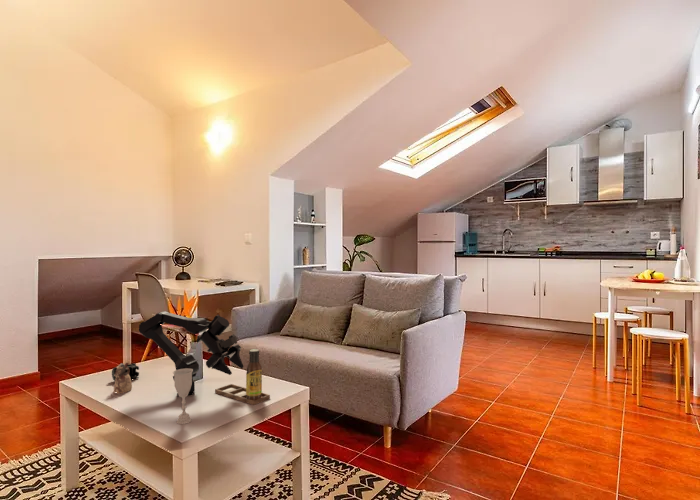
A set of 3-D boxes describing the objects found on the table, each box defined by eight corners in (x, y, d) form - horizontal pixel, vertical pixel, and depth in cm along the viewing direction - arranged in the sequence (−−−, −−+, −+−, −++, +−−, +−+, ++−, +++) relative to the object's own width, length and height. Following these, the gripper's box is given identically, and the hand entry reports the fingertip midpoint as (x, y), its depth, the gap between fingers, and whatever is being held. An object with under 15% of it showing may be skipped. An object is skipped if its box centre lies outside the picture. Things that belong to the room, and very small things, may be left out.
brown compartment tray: (215, 392, 182) (215, 389, 182) (231, 387, 189) (231, 383, 189) (253, 405, 167) (253, 401, 167) (269, 398, 174) (269, 394, 174)
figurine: (111, 390, 187) (110, 363, 186) (128, 386, 192) (127, 360, 192) (116, 394, 182) (116, 366, 182) (134, 390, 187) (133, 363, 187)
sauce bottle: (250, 402, 168) (249, 353, 168) (243, 398, 173) (242, 350, 173) (264, 399, 172) (263, 350, 172) (258, 394, 177) (257, 347, 177)
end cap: (133, 375, 208) (132, 362, 208) (140, 378, 204) (139, 364, 204) (111, 381, 201) (111, 366, 201) (118, 383, 196) (118, 369, 196)
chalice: (177, 417, 156) (176, 368, 156) (196, 416, 157) (195, 368, 156) (170, 425, 149) (169, 374, 149) (190, 424, 149) (189, 374, 149)
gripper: (211, 334, 167) (237, 364, 164) (236, 325, 185) (260, 352, 182) (195, 353, 169) (219, 382, 166) (221, 342, 187) (244, 369, 184)
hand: (237, 370), depth 175 cm, fingers open, 9 cm apart
